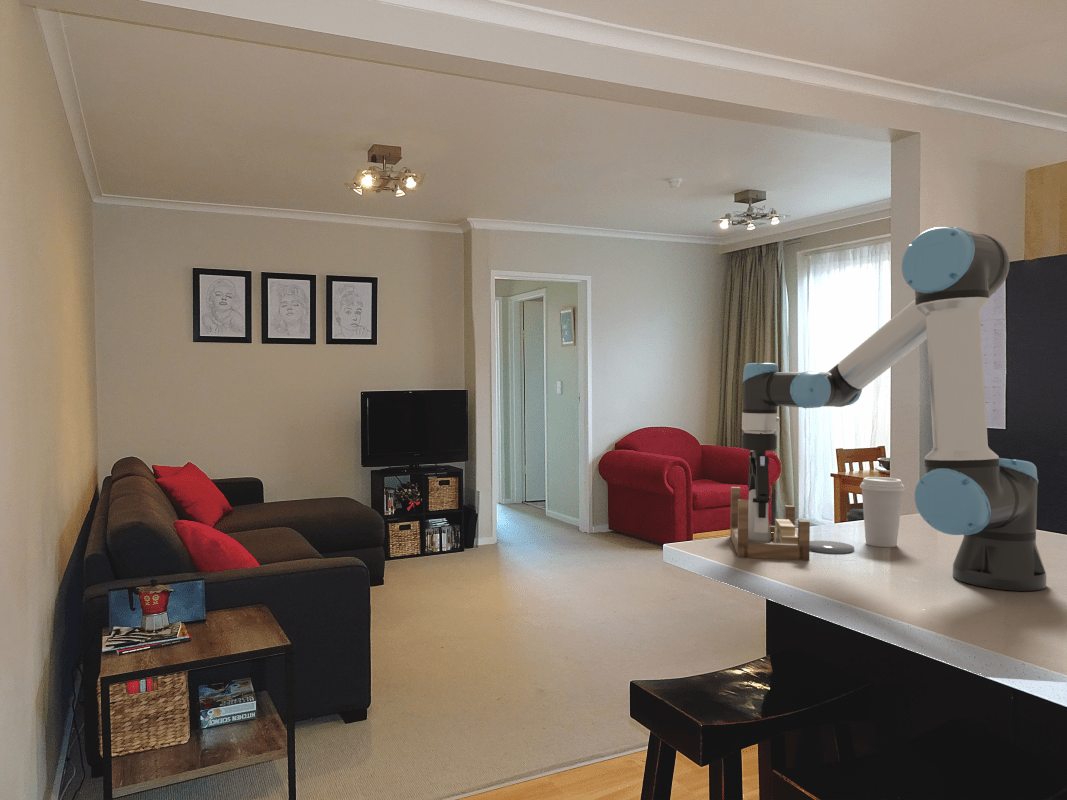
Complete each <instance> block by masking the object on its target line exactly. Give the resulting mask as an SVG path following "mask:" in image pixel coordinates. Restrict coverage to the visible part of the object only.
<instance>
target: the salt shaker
mask: <svg viewBox="0 0 1067 800" xmlns="http://www.w3.org/2000/svg"><path fill="white" fill-rule="evenodd" d="M753 498H756V491H755V489H753V490H750V491H749V490H748V500H749V499H750V500H752V502H751V507H750V512H749V511H748V513H749V517H748V542H755V543H771V542H772V539H771V532H770V526H771V525H770V519H769V518H768V533H757V532H754V528H755V502H753Z"/></svg>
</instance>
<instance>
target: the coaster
mask: <svg viewBox="0 0 1067 800" xmlns="http://www.w3.org/2000/svg"><path fill="white" fill-rule="evenodd" d="M809 550H810V551H809V552H814V551H815V553H820V552H822V553H821V554H830V553H845V554H851V553H854V552H855V546H854V545H851V544H849V543H845V542H840V541H831V540H809ZM853 551H854V552H853ZM850 552H851V553H850Z"/></svg>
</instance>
